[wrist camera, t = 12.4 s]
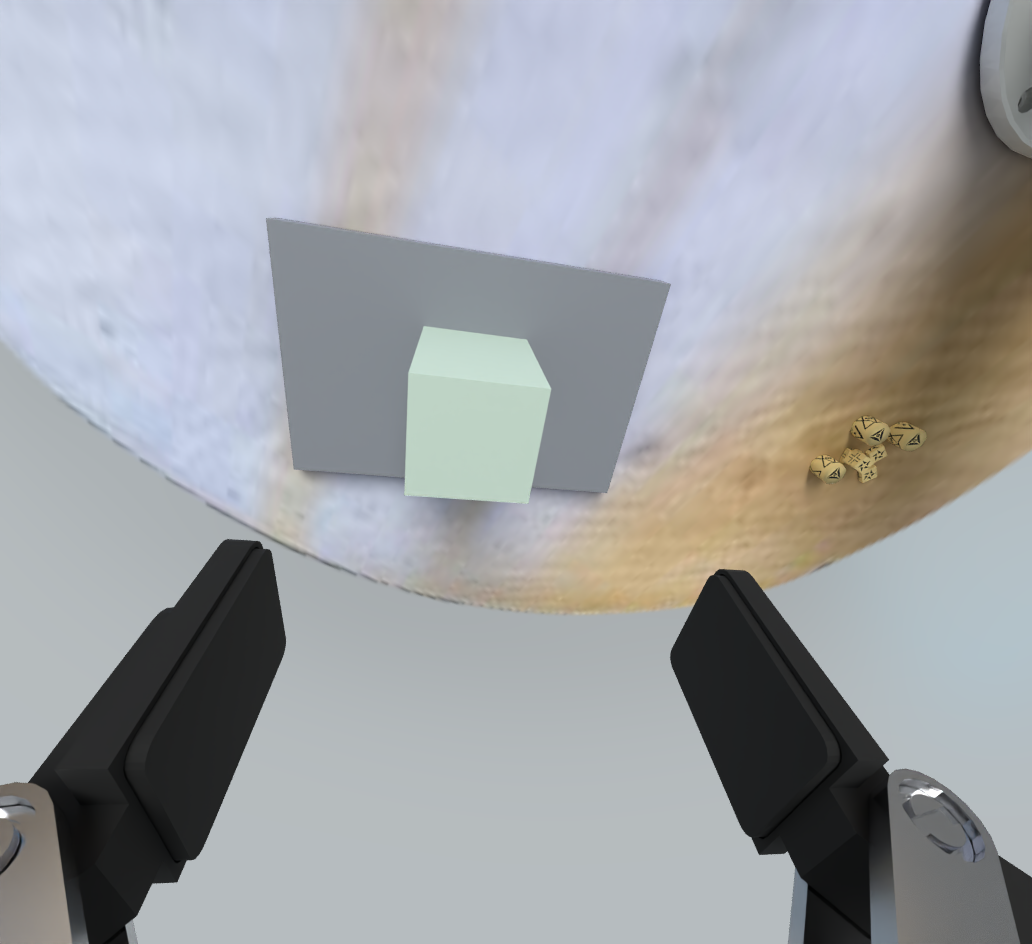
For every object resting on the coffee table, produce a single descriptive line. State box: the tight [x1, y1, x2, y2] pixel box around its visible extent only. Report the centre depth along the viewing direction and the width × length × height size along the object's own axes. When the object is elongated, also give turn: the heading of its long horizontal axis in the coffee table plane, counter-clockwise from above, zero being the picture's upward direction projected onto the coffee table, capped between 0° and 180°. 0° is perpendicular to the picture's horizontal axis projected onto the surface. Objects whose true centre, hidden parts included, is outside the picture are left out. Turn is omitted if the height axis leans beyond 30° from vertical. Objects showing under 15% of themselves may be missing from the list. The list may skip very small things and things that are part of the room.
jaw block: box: [404, 326, 551, 504], centre depth 20 cm, size 5×5×7 cm
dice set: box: [809, 416, 927, 484], centre depth 29 cm, size 5×5×2 cm
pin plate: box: [266, 218, 671, 493], centre depth 22 cm, size 18×12×4 cm, turn 81°
